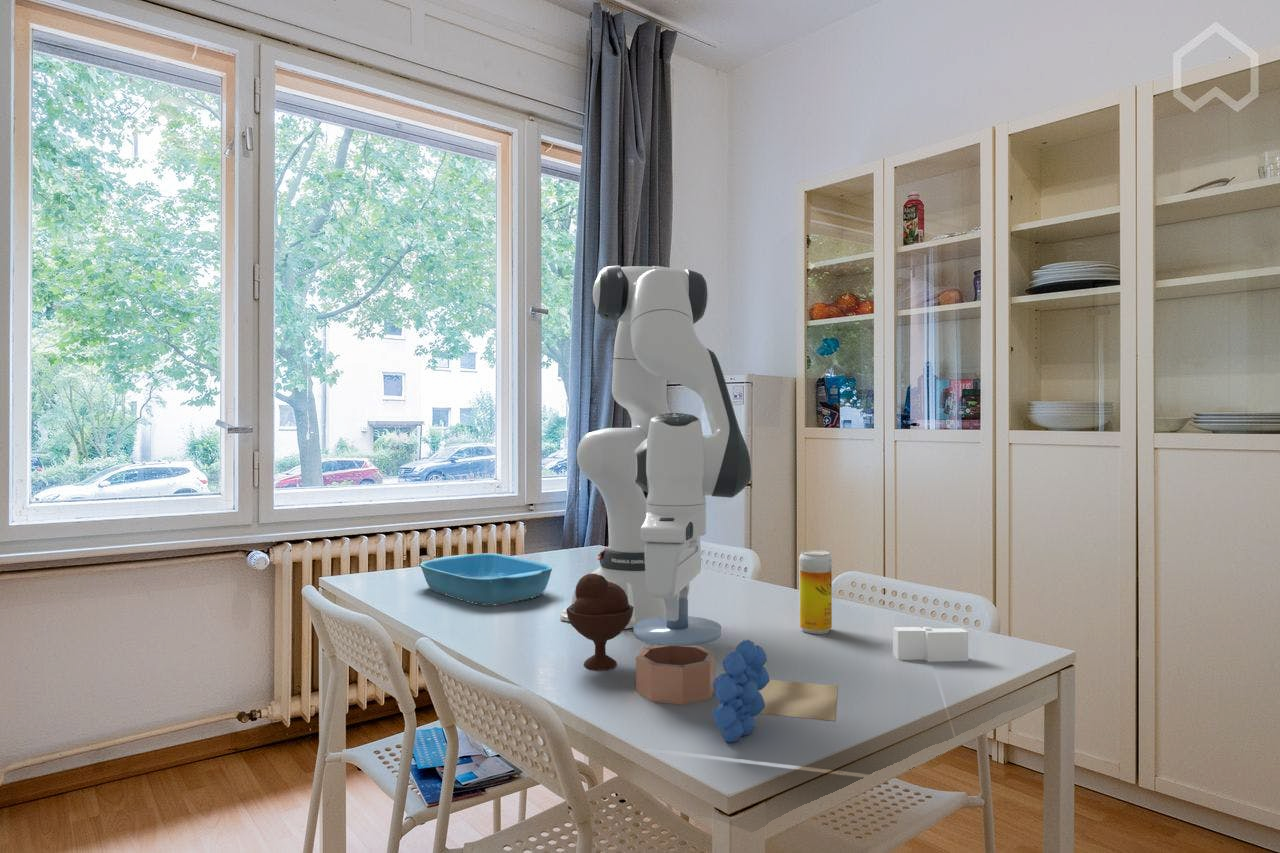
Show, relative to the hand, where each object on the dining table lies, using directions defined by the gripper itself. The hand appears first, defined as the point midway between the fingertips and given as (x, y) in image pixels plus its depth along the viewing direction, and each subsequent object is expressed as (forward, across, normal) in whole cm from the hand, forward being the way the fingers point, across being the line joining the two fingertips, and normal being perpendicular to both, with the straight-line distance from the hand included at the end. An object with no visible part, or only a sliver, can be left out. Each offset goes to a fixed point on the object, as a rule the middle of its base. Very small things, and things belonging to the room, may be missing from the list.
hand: (676, 616), depth 113 cm
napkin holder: (+12, -28, +37) cm, 48 cm away
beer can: (+11, -40, +18) cm, 45 cm away
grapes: (+12, +13, +11) cm, 20 cm away
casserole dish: (+11, -54, -59) cm, 81 cm away
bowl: (+11, 0, 0) cm, 11 cm away
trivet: (+11, -1, +16) cm, 19 cm away
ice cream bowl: (+11, -9, -15) cm, 21 cm away
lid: (+3, 0, 0) cm, 3 cm away
